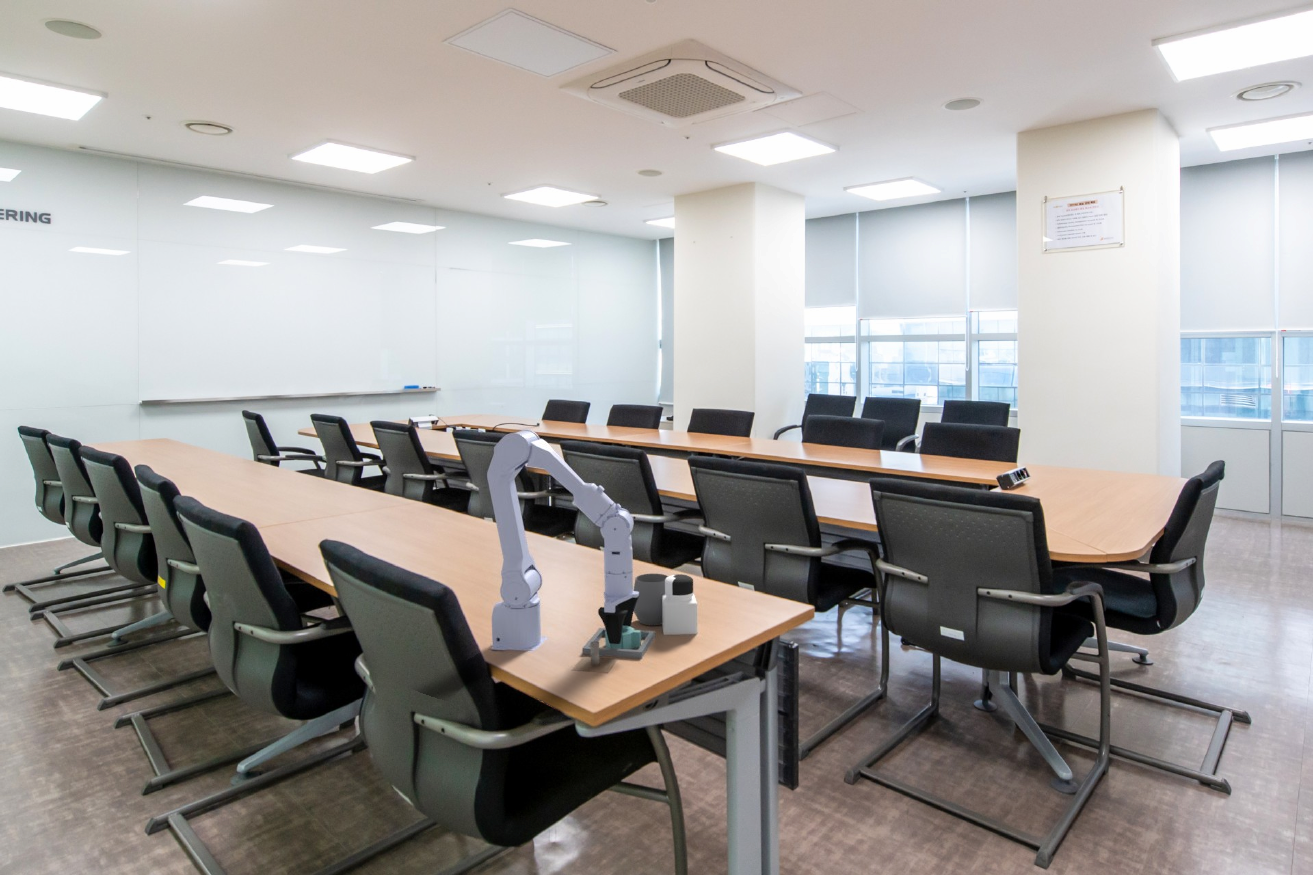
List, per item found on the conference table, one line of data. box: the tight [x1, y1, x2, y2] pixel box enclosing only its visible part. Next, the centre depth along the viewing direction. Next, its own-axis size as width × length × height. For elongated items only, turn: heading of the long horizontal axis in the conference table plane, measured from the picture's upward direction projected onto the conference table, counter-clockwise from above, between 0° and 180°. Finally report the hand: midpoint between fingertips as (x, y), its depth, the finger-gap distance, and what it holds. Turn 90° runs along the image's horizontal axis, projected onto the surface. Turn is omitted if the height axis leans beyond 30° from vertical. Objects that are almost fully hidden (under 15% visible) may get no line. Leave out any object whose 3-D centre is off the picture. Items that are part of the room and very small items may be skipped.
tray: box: [581, 627, 656, 659], centre depth 154 cm, size 12×12×2 cm
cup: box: [633, 572, 670, 626], centre depth 170 cm, size 10×9×10 cm
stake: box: [571, 641, 618, 674], centre depth 144 cm, size 7×7×5 cm
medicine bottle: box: [661, 574, 698, 636], centre depth 163 cm, size 7×7×12 cm
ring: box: [604, 626, 642, 650], centre depth 154 cm, size 7×6×3 cm
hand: (619, 636), depth 154 cm, fingers open, 7 cm apart
